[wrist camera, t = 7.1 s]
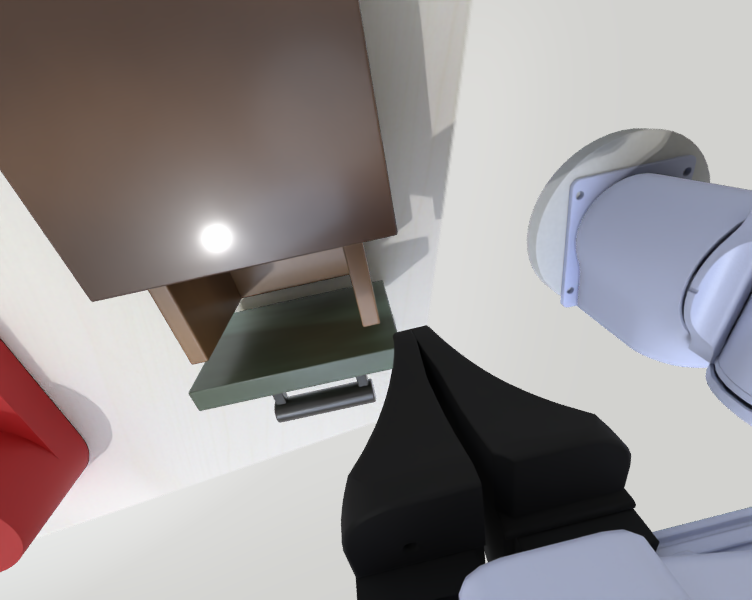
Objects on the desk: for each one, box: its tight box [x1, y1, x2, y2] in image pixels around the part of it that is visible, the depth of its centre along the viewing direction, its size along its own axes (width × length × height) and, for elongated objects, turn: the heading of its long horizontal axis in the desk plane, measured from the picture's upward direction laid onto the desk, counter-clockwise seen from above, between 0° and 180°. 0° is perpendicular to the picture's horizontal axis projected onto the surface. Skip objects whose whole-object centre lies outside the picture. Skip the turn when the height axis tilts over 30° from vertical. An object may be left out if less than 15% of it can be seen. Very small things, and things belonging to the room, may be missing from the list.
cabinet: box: [0, 0, 397, 302], centre depth 13 cm, size 14×11×9 cm
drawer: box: [148, 242, 397, 422], centre depth 17 cm, size 17×10×7 cm, turn 11°
